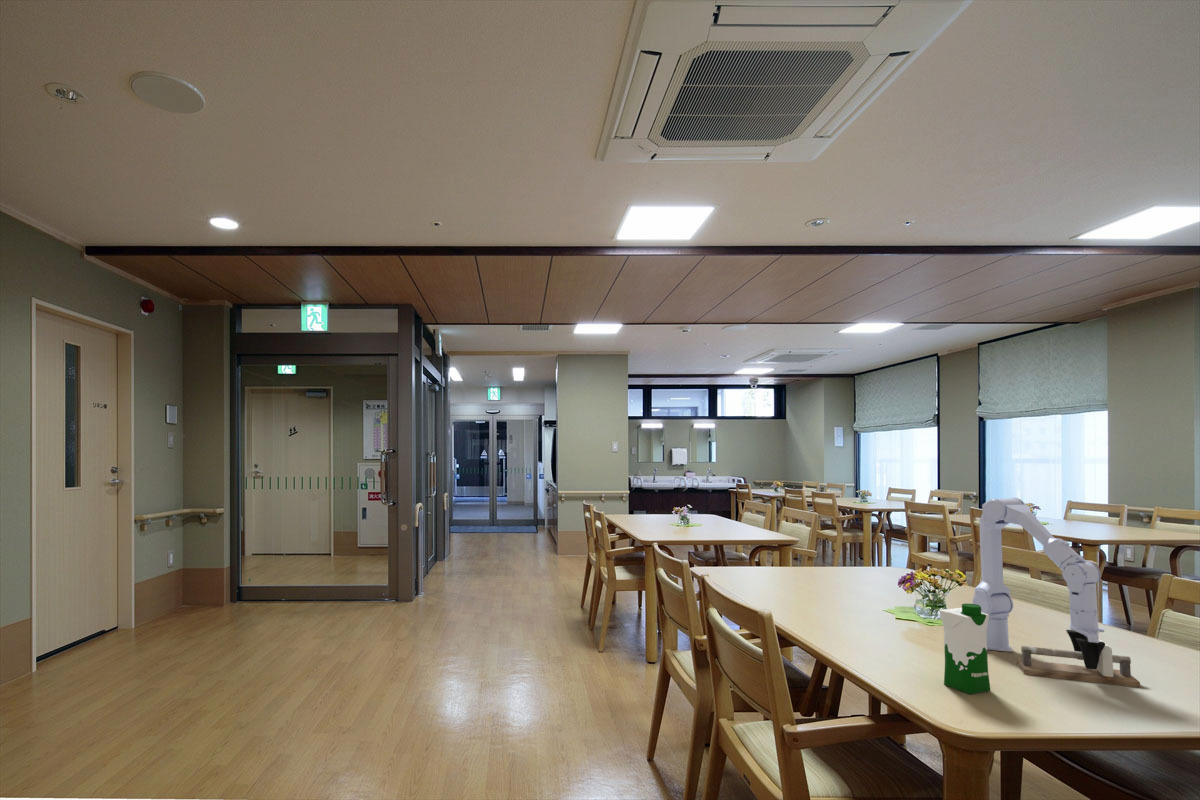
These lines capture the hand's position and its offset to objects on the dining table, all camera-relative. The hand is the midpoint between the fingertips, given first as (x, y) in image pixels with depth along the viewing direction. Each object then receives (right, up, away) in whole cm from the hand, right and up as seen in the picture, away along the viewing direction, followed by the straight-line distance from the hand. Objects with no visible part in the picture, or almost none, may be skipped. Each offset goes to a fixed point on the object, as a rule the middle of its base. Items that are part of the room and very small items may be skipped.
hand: (1086, 664), depth 165 cm
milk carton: (-35, -3, -8) cm, 36 cm away
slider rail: (-2, -3, +1) cm, 4 cm away
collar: (+3, -1, -1) cm, 4 cm away
